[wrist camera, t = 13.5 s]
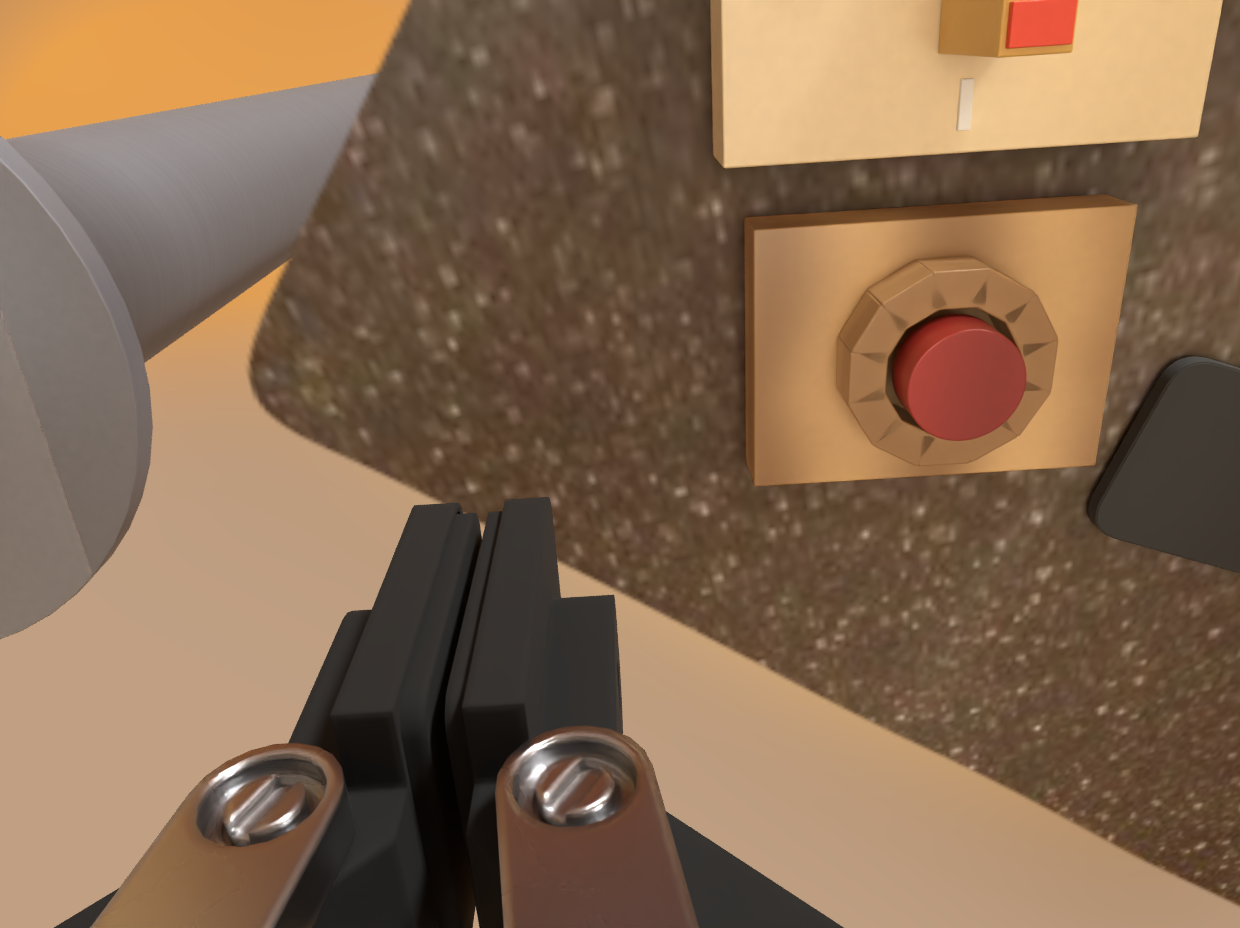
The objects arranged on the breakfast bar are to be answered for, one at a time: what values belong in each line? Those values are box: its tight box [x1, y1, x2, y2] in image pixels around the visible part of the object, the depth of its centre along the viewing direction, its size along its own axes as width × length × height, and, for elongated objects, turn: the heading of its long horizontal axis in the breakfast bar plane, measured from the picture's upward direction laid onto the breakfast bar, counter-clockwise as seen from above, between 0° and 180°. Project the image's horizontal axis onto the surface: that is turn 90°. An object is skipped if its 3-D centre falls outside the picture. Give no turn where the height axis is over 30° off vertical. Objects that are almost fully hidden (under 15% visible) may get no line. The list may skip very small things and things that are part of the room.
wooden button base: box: [744, 194, 1138, 486], centre depth 31 cm, size 12×9×4 cm
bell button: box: [892, 314, 1027, 441], centre depth 29 cm, size 4×4×2 cm
